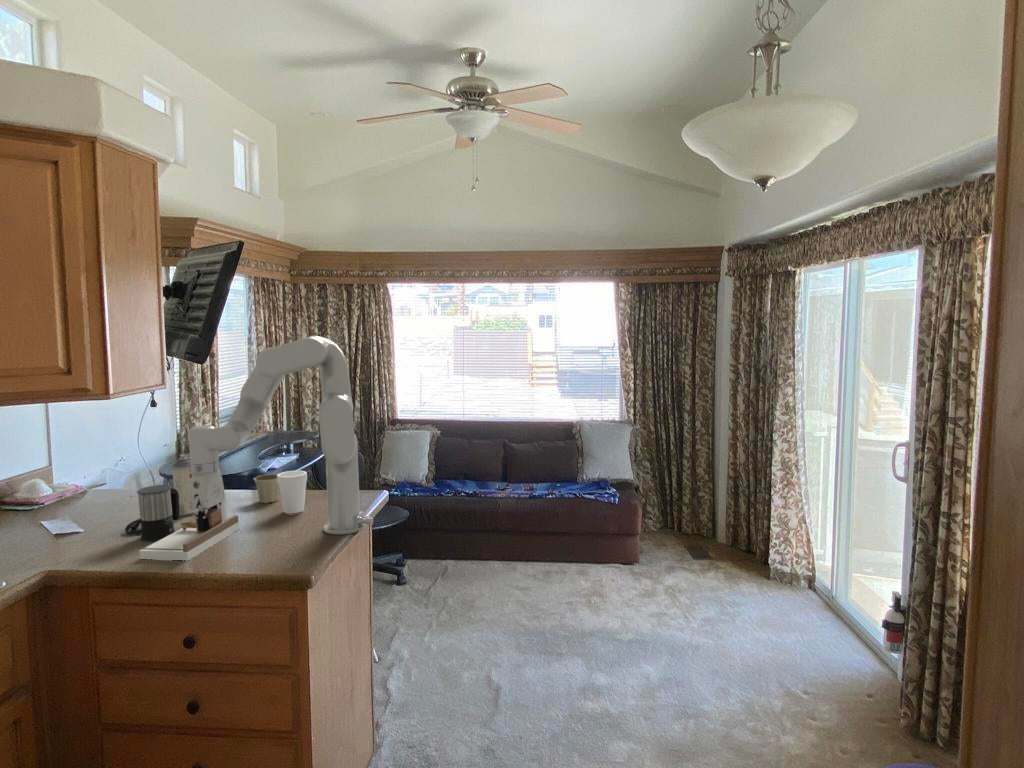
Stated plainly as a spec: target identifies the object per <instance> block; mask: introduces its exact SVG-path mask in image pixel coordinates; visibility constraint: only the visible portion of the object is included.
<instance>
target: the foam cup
mask: <svg viewBox="0 0 1024 768" xmlns="http://www.w3.org/2000/svg"><path fill="white" fill-rule="evenodd" d="M307 473H308V471H305V470H287V471H283V472H280V473H277V474H278V475H277V482H278V485H279V494H280V500H281V504H282V509H283V512H285V513H297V512H301V511H303V510H304V511H305V502H306V490H307V480H308V474H307ZM304 511H303V512H304ZM285 513H284V514H285Z"/></svg>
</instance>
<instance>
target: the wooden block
mask: <svg viewBox="0 0 1024 768" xmlns="http://www.w3.org/2000/svg"><path fill="white" fill-rule="evenodd" d="M200 511H202V512H203V511H204V510H200ZM207 518H209V529H211V528H213V527H215V526H216V525H218V524H220V523H222V521H223V519H222V518H223V517H222V508H221V509H210V508H208V511H207ZM180 526H181V527H180V529H182V528H183V530H186V529H187V528H197V533H204V532H206V531H198V521H197V518H196V517H195V520H183V521H181V522H180Z"/></svg>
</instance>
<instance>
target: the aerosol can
mask: <svg viewBox="0 0 1024 768" xmlns="http://www.w3.org/2000/svg"><path fill="white" fill-rule="evenodd" d="M191 479H192V474H191V461H190V459H189V458H188V457H187V456H186V454H180V455H179V459H177V460H176V461H175V463H173V464H172V482H173V483H172V484H173V488H175V489H176V490H177V491H178V493H179V517H190V516H194V515H193V513H192V512H191V508H192V501H191ZM189 515H190V516H189Z"/></svg>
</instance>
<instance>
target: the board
mask: <svg viewBox="0 0 1024 768" xmlns="http://www.w3.org/2000/svg"><path fill="white" fill-rule="evenodd" d="M239 530H240V523H239V515H238V514H237V515H232V516H231V517H228V518H227V519H225V520H224V521H223V520H222V523H220V524H218V525H216V526H215V527H213V528H211V529H209V530H208V531H206V532H204V533H197V528H187V529H186V530H183V528H180V529H178V530H176V531H175V532H174V533H172V534H170V535H168V536H166V537H165V538H163V539H161V540H156V541H155V542H153V543H151V544H149V545H147V546H146V547H144V548H142V549H139V560H140V559H149V560H148V561H172V560H183V562H189V561H191V560H192V559H194V558H195V557H197V556H199V555H201V554H202V553H204V550H205V551H207V550H208V549H210V548H211V547H213V546H214V544H215V545H216V544H218V543H220V542H221V541H223V540H224V539H226V538H228V537H229V536H231V535H233V534H234V533H236V532H237V531H239ZM235 531H236V532H235ZM227 536H228V537H227ZM219 541H220V542H219ZM209 547H210V548H209ZM206 549H207V550H206ZM193 557H194V558H193ZM150 559H152V560H150ZM153 559H154V560H153ZM184 560H185V561H184ZM188 560H189V561H188Z"/></svg>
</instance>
